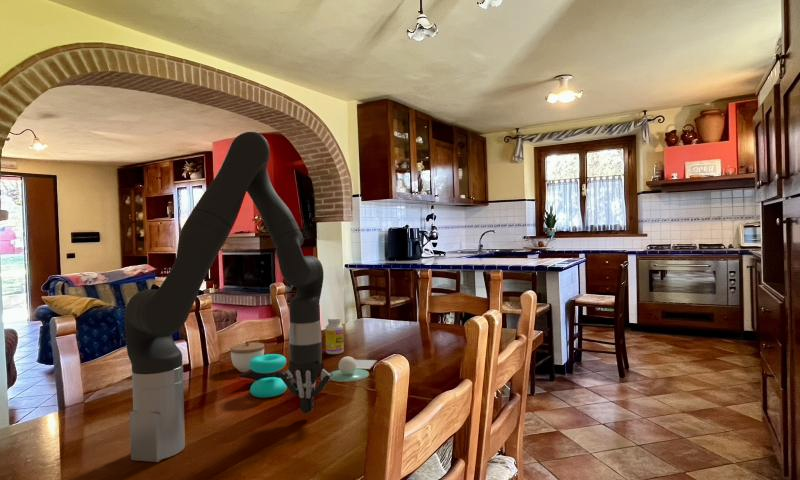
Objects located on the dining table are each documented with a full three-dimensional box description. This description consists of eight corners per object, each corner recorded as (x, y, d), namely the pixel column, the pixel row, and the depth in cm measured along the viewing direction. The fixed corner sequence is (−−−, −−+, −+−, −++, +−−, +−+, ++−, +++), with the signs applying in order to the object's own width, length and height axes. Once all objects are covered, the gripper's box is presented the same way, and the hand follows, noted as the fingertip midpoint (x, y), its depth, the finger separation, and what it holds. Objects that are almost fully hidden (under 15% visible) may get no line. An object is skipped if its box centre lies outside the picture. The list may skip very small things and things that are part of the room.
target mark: (362, 382, 136) (362, 382, 136) (320, 381, 139) (320, 380, 139) (373, 369, 149) (373, 369, 149) (335, 368, 151) (335, 368, 151)
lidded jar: (236, 376, 146) (235, 346, 146) (226, 368, 155) (226, 341, 155) (269, 369, 152) (268, 341, 152) (258, 363, 161) (257, 336, 161)
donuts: (241, 359, 128) (270, 351, 136) (242, 395, 128) (271, 385, 136) (265, 364, 122) (293, 355, 131) (266, 401, 123) (294, 390, 131)
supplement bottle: (336, 355, 168) (335, 320, 168) (322, 353, 172) (321, 319, 172) (347, 351, 174) (346, 317, 174) (333, 349, 177) (332, 316, 177)
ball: (353, 372, 140) (355, 354, 143) (335, 371, 141) (338, 353, 144) (356, 377, 145) (359, 360, 148) (339, 376, 146) (342, 359, 149)
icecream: (248, 369, 130) (293, 362, 142) (236, 359, 135) (279, 353, 146) (244, 392, 131) (288, 383, 142) (231, 381, 136) (275, 373, 147)
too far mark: (369, 369, 150) (369, 368, 150) (339, 368, 152) (339, 367, 152) (376, 360, 160) (376, 360, 160) (348, 360, 161) (348, 359, 161)
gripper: (272, 343, 108) (274, 417, 108) (326, 344, 105) (328, 420, 105) (286, 336, 115) (288, 405, 115) (336, 336, 113) (338, 407, 113)
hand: (307, 412), depth 110 cm, fingers closed
